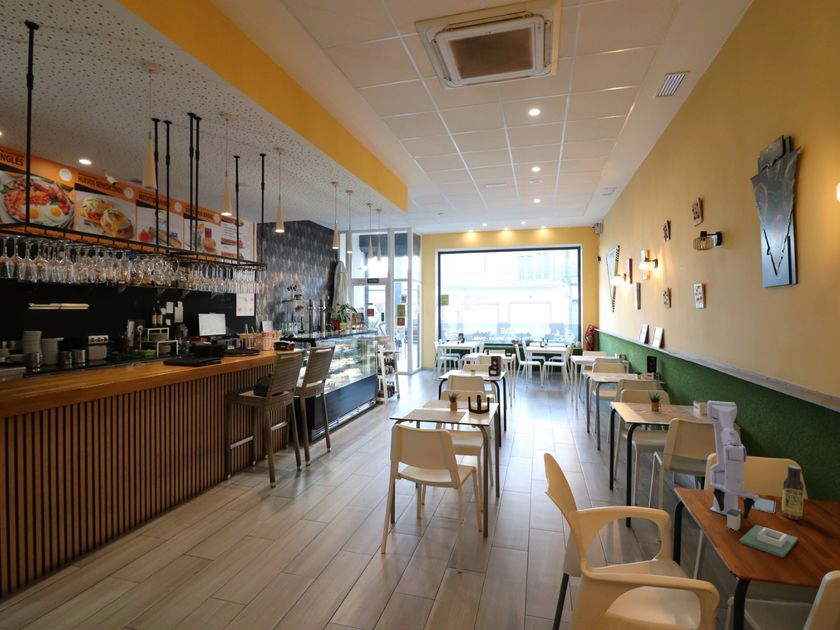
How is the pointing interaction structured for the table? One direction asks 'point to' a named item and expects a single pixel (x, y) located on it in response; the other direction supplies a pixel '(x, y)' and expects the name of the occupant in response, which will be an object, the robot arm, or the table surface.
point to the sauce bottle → (793, 494)
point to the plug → (733, 519)
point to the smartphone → (765, 505)
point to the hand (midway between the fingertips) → (733, 514)
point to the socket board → (769, 540)
